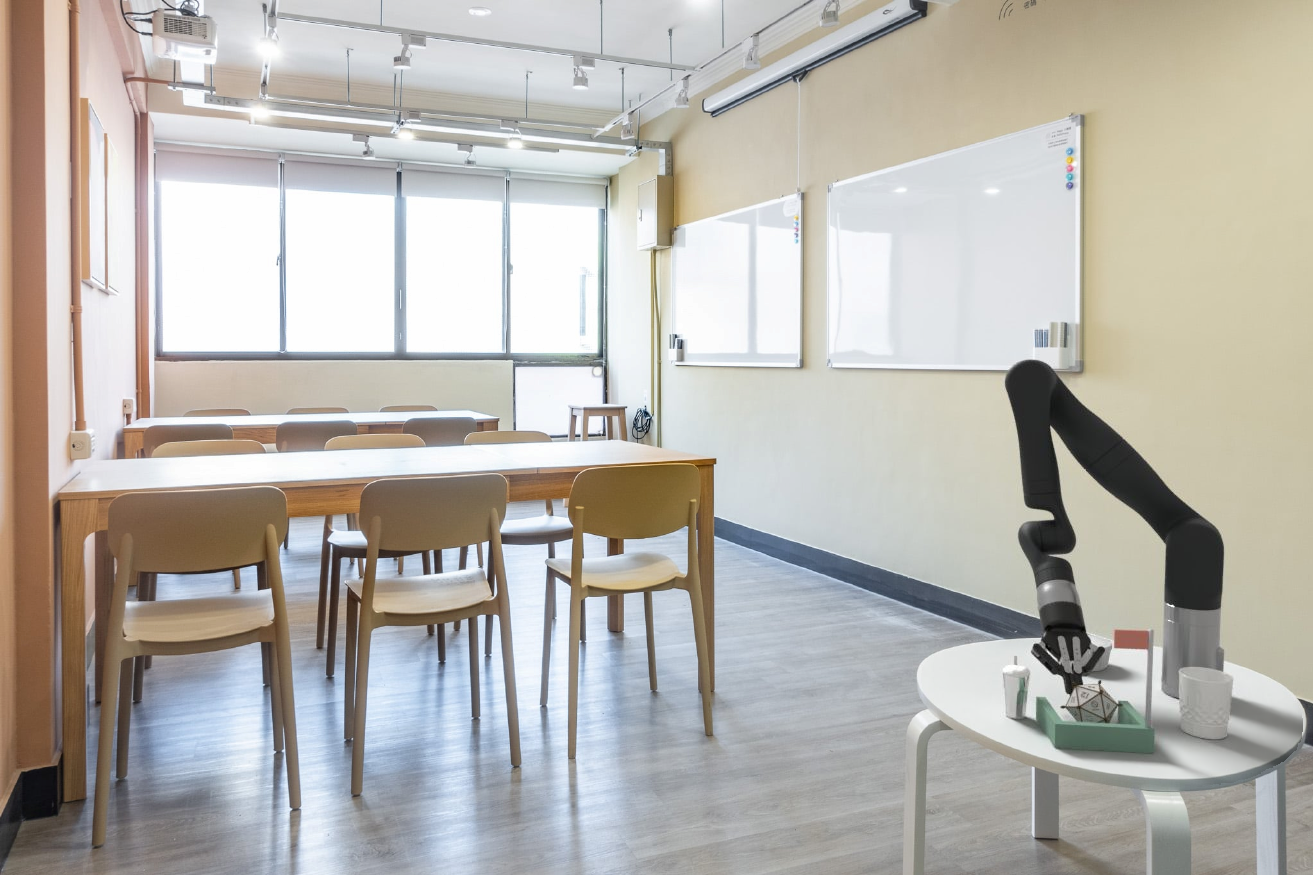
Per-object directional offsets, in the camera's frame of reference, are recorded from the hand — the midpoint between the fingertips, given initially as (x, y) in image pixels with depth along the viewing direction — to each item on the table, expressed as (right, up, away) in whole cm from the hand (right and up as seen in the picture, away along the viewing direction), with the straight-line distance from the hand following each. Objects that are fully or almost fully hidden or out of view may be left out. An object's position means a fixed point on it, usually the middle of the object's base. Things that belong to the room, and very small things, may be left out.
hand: (1075, 695), depth 159 cm
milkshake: (-10, -4, +1) cm, 11 cm away
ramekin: (+14, -2, +28) cm, 32 cm away
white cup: (+18, -4, -7) cm, 20 cm away
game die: (0, -4, -5) cm, 7 cm away
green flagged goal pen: (-1, -4, -8) cm, 9 cm away
